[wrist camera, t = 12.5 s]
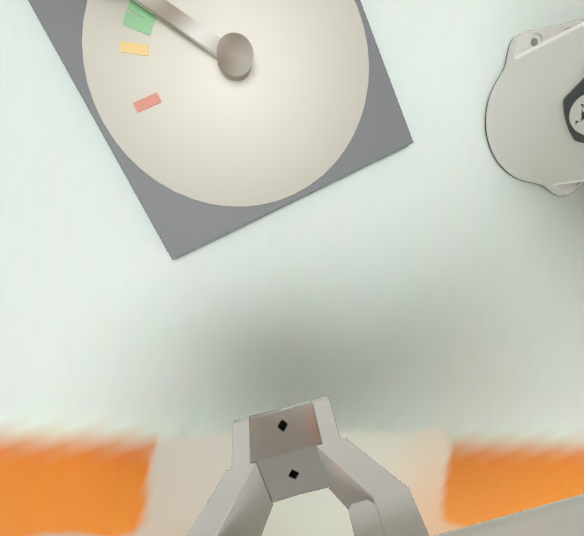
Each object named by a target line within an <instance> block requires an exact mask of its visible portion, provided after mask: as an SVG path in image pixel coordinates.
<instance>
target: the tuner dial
mask: <svg viewBox="0 0 584 536" xmlns="http://www.w3.org/2000/svg"><path fill="white" fill-rule="evenodd" d="M28 1H29V3H30V4H31V6H32V8H33V10H34V12H35V13H36V15H37V17H38V19H39V21H40V22H41V24H42V26H43V28H44V30H45V31H46V33H47V35H48V37H49V39H50V40H51V42H52V44H53V46H54V48H55V49H56V51H57V53H58V55H59V57H60V58H61V60H62V62H63V64H64V66H65V67H66V69H67V71H68V73H69V75H70V76H71V78H72V80H73V82H74V84H75V85H76V87H77V89H78V91H79V93H80V94H81V96H82V98H83V100H84V102H85V103H86V105H87V107H88V109H89V111H90V113H91V114H92V116H93V118H94V120H95V122H96V123H97V125H98V127H99V129H100V131H101V132H102V134H103V136H104V138H105V140H106V141H107V143H108V145H109V147H110V149H111V150H112V152H113V154H114V156H115V158H116V159H117V161H118V163H119V165H120V167H121V168H122V170H123V172H124V174H125V176H126V177H127V179H128V181H129V183H130V185H131V186H132V188H133V190H134V192H135V194H136V195H137V197H138V199H139V201H140V203H141V204H142V206H143V208H144V210H145V212H146V213H147V215H148V217H149V219H150V221H151V222H152V224H153V226H154V228H155V230H156V231H157V233H158V235H159V237H160V239H161V240H162V242H163V244H164V246H165V248H166V249H167V251H168V253H169V255H170V257H171V258H172V260H174V259H176V258H178V257H180V256H182V255H184V254H186V253H188V252H190V251H192V250H194V249H196V248H198V247H200V246H202V245H204V244H206V243H208V242H210V241H213V240H215V239H217V238H219V237H221V236H223V235H225V234H227V233H229V232H231V231H233V230H235V229H237V228H239V227H241V226H243V225H245V224H247V223H249V222H252V221H254V220H256V219H258V218H260V217H262V216H264V215H266V214H268V213H270V212H272V211H274V210H276V209H278V208H280V207H282V206H284V205H286V204H288V203H291V202H293V201H295V200H297V199H299V198H301V197H303V196H305V195H307V194H309V193H311V192H313V191H315V190H317V189H319V188H321V187H323V186H325V185H327V184H330V183H332V182H334V181H336V180H338V179H340V178H342V177H344V176H346V175H348V174H350V173H352V172H354V171H356V170H358V169H360V168H362V167H364V166H366V165H369V164H371V163H373V162H375V161H377V160H379V159H381V158H383V157H385V156H387V155H389V154H391V153H393V152H395V151H397V150H399V149H401V148H403V147H405V146H408V145H410V144H412V143H413V140H412V137H411V135H410V132H409V129H408V127H407V124H406V122H405V119H404V116H403V114H402V111H401V108H400V106H399V103H398V100H397V98H396V95H395V92H394V90H393V87H392V84H391V82H390V79H389V76H388V74H387V71H386V68H385V66H384V63H383V60H382V58H381V55H380V52H379V50H378V47H377V44H376V42H375V39H374V36H373V34H372V31H371V28H370V26H369V23H368V20H367V18H366V15H365V12H364V10H363V7H362V4H361V2H360V0H167V1H168V2H169V3H171V4H172V5H174V6H175V7H177V8H178V9H180V10H181V11H182V12H184V13H185V14H187V15H188V16H190V17H191V18H193V19H194V20H195V21H197V22H198V23H200V24H201V25H203V26H204V27H206V28H207V29H208V30H210V31H211V32H213V33H214V34H216V35H217V36H219V37H220V38H222V37H223V36H224V35H226V34H228V33H239V34H242V35H243V36H245V37H246V38H247V39H248V40H249V41H250V43H251V45H252V48H253V61H252V68H251V71H250V73H249V74H248V75H247V76H246V77H245V78H244V79H241V80H231V79H228V78H227V77H225V76H224V75H223V74H222V73H221V71H220V69H219V67H218V61H217V57H215V56H214V55H212V54H211V53H210V52H208V51H207V50H205V49H204V48H202V47H201V46H199V45H198V44H196V43H195V42H193V41H192V40H190V39H189V38H187V37H186V36H184V35H183V34H181V33H180V32H179V31H177V30H176V29H174V28H173V27H171V26H170V25H168V24H167V23H165V22H164V21H162V20H161V19H159V18H158V17H156V16H155V15H153V14H152V13H150V12H149V11H148V10H146V9H145V8H143V7H142V6H140V5H139V4H137V3H136V2H134V1H133V0H28Z"/></svg>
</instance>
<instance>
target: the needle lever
mask: <svg viewBox="0 0 584 536" xmlns="http://www.w3.org/2000/svg"><path fill="white" fill-rule="evenodd" d="M133 1H134V2H136V3H137V4H139V5H140V6H142V7H143V8H145V9H146V10H148V11H149V12H150V13H152V14H153V15H155V16H156V17H158V18H159V19H161V20H162V21H164V22H165V23H167V24H168V25H170V26H171V27H173V28H174V29H176V30H177V31H179V32H180V33H181V34H183V35H184V36H186V37H187V38H189V39H190V40H192V41H193V42H195V43H196V44H198V45H199V46H201V47H202V48H204V49H205V50H207V51H208V52H210V53H211V54H212V55H214V56H215V57H217V61H218V67H219V69H220V71H221V73H222V74H223V75H224V76H225V77H227V78H228V79H231V80H241V79H244V78H245V77H246V76H247V75H248V74H249V73H250V71H251V68H252V61H253V48H252V45H251V43H250V41H249V40H248V39H247V38H246V37H245V36H243V35H242V34H239V33H228V34H226V35H224V36H223V37H222V38H220V37H219V36H217V35H216V34H214V33H213V32H211V31H210V30H208V29H207V28H206V27H204V26H203V25H201V24H200V23H198V22H197V21H195V20H194V19H193V18H191V17H190V16H188V15H187V14H185V13H184V12H182V11H181V10H180V9H178V8H177V7H175V6H174V5H172V4H171V3H169V2H168V1H167V0H133Z"/></svg>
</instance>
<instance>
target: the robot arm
mask: <svg viewBox="0 0 584 536" xmlns="http://www.w3.org/2000/svg"><path fill="white" fill-rule="evenodd" d="M531 42H532V44H533V46H532V44H531ZM486 130H487V137H488V141H489V144H490V147H491V150H492V152H493V154H494V156H495V158H496V159H497V161H498V162H499V164H500V165H501V166H502V167H503V168H504V169H505V170H506V171H507V172H508V173H509V174H511V175H512V176H514V177H516V178H518V179H520V180H523V181H526V182H531V183H537V184H540V185H543V186H544V187H545V188H546V189H548V190H549V191H550V192H552V193H553V194H555V195H558V196H562V195H568V194H570V193H572V192H573V191H575V190H576V189H577V188H578V187H580V186H581V185H582V184H583V183H584V20H579V21H574V22H570V23H565V24H561V25H556V26H551V27H547V28H542V29H538V30H533V31H528V32H524V33H522V34H520V35H518V36H516V37H514V38H513V39H512V41H511V43H510V46H509V50H508V55H507V60H506V65H505V67H504V70H503V72H502V73H501V75H500V77H499V78H498V80H497V82H496V83H495V85H494V87H493V90H492V92H491V95H490V98H489V101H488V106H487V112H486ZM312 402H313V403H312ZM327 487H329V489H330V490H331V491H332V492H333V493H334V494H335V495H336V497H337V498H338V499H339V500H340V501H341V502H342V503H343V504H344V505H345V506H346V508H347V509H348V511H349V515H350V519H351V523H352V527H353V532H354V535H355V536H429V534H428V532H427V529H426V527H425V525H424V522H423V520H422V518H421V515H420V513H419V511H418V509H417V506H416V504H415V502H414V499H413V497H412V495H411V492H410V490H409V488H408V487H407V486H406V485H405V484H404V483H402V482H401V481H400V480H398V479H397V478H396V477H394V476H393V475H392V474H391V473H390V472H388V471H387V470H386V469H384V468H383V467H382V466H381V465H379V464H378V463H377V462H376V461H374V460H373V459H372V458H371V457H369V456H368V455H367V454H365V453H364V452H363V451H362V450H360V449H359V448H358V447H357V446H355V445H354V444H353V443H351V442H350V441H349V440H348V439H346V438H343V439H341V438H340V434H339V431H338V428H337V424H336V421H335V417H334V414H333V411H332V407H331V404H330V400H329V397H328V396H324V397H320V398H316V399H313V400H309V401H306V402H302V403H298V404H295V405H291V406H288V407H284V408H281V409H278V410H274V411H270V412H266V413H261V414H257V415H253V416H250V417H246V418H242V419H238V420H234V423H233V432H232V469H230V470H227V471H226V472H225V474H224V476H223V477H222V479H221V481H220V482H219V484H218V486H217V487H216V489H215V490H214V492H213V494H212V495H211V497H210V499H209V500H208V502H207V504H206V505H205V507H204V508H203V510H202V512H201V514H200V515H199V517H198V518H197V520H196V522H195V523H194V525H193V526H192V528H191V530H190V531H189V533H188V535H187V536H261V535H262V532H263V529H264V527H265V524H266V522H267V519H268V516H269V514H270V511H271V508H272V506H273V504H272V503H273V502H276V501H280V500H283V499H286V498H290V497H292V496H296V495H299V494H303V493H307V492H311V491H315V490H320V489H324V488H327ZM434 536H584V494H582V495H578V496H574V497H571V498H567V499H564V500H560V501H556V502H553V503H549V504H546V505H542V506H539V507H535V508H531V509H528V510H524V511H521V512H517V513H513V514H510V515H506V516H503V517H499V518H495V519H492V520H488V521H485V522H481V523H478V524H474V525H470V526H467V527H463V528H460V529H456V530H452V531H449V532H445V533H442V534H438V535H434Z"/></svg>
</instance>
